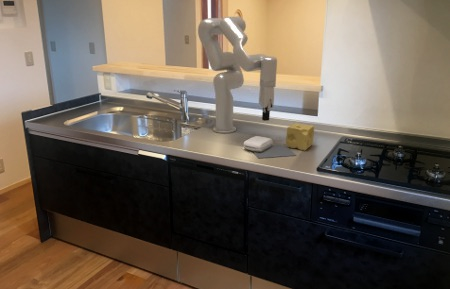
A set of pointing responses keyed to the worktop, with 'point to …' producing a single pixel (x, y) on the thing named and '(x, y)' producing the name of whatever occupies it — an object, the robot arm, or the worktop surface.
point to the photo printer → (258, 143)
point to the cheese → (299, 136)
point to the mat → (275, 152)
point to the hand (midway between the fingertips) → (265, 120)
